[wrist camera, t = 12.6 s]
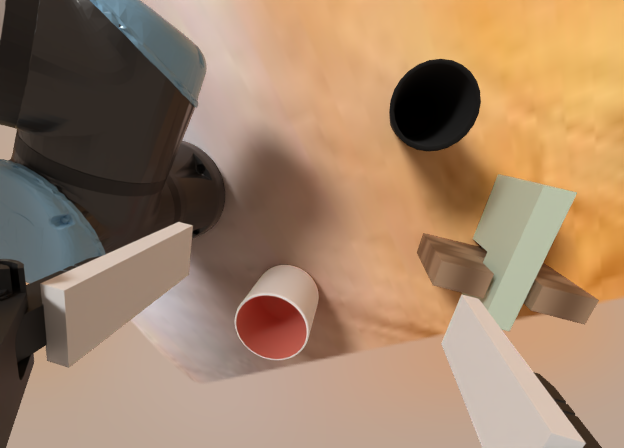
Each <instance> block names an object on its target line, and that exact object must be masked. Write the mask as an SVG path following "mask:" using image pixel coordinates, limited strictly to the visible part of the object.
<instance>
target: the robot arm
mask: <svg viewBox="0 0 624 448" xmlns="http://www.w3.org/2000/svg"><path fill="white" fill-rule="evenodd" d="M205 74H206V61H205V58H204V55H203V54H202V52H201V50H200V49H199V48H198V47H197V46H196V45H195V44H194V43H193V42H192V41H191V40H190V39H189V38H187V37H186V36H185V35H184V34H183V33H181V32H180V31H179V30H178V29H176V28H175V27H174V26H173V25H171V24H170V23H169V22H168V21H166V20H165V19H164V18H162V17H161V16H160V15H159V14H157V13H156V12H155V11H153V10H152V9H151V8H150V7H148V6H147V5H146V4H144V3H143V2H142V1H140V0H0V124H1V125H5V126H9V127H13V128H16V129H17V133H16V138H15V143H14V148H13V154H12V157H11V159H10V160H8V161H7V160H4V159H0V448H6V446H7V443H8V440H9V436H10V433H11V430H12V427H13V424H14V421H15V418H16V415H17V412H18V409H19V406H20V403H21V400H22V397H23V394H24V391H25V388H26V385H27V382H28V379H29V376H30V373H31V370H32V367H33V364H34V355H33V353H34V352H36V351H38V350H39V349H41V348H42V347H44V346H45V345H46V353H47V361H50V362H53V363H56V364H59V365H62V366H65V367H70V366H72V365H73V364H74V363H76V362H77V361H78V360H79V359H81V358H82V357H83V356H85V355H86V354H87V353H88V352H90V351H91V350H92V349H94V348H95V347H96V346H98V345H99V344H100V343H101V342H103V341H104V340H105V339H107V338H108V337H109V336H110V335H112V334H113V333H114V332H116V331H117V330H118V329H119V328H121V327H122V326H123V325H125V324H126V323H127V322H128V321H130V320H131V319H132V318H134V317H135V316H136V315H137V314H139V313H140V312H141V311H143V310H144V309H145V308H146V307H148V306H149V305H150V304H152V303H153V302H154V301H155V300H157V299H158V298H159V297H161V296H162V295H163V294H164V293H166V292H167V291H168V290H170V289H171V288H172V287H173V286H175V285H176V284H177V283H179V282H180V281H181V280H182V279H184V278H185V277H186V276H188V275H189V267H190V255H191V243H192V239H193V238H195V237H198V236H199V235H201V234H203V233H205V232H206V231H208V230H209V229H211V228H212V227H213V226H214V225H215V224H216V222H217V221H218V219H219V218H220V216H221V213H222V211H223V207H224V202H225V190H224V184H223V180H222V177H221V175H220V172H219V170H218V169H217V167H216V165H215V164H214V162H213V161H212V160H211V158H210V157H209V156H208V155H207V154H206V153H205V152H203V151H202V150H201V149H199V148H198V147H196V146H194V145H193V144H190V143H188V142H185V141H182V139H183V137H184V134H185V132H186V129H187V127H188V124H189V122H190V119H191V117H192V114H193V112H194V109H195V107H196V108H197V106H198V101H197V100H198V96H199V93H200V90H201V87H202V83H203V80H204V77H205ZM26 282H27V283H30V284H28V285H26ZM441 344H442V346H443V349H444V352H445V354H446V357H447V359H448V362H449V364H450V367H451V369H452V372H453V374H454V377H455V380H456V382H457V385H458V387H459V390H460V392H461V395H462V397H463V400H464V402H465V405H466V407H467V410H468V413H469V415H470V417H471V420H472V423H473V425H474V428H475V430H476V433H477V435H478V438H479V440H480V443H481V445H482V448H602V447H601V446H600V445H599V444H598V442H597V441H596V440H595V438H594V437H593V436H592V435H591V434H590V432H589V431H588V429H587V428H586V427H585V426H584V425H583V423H582V422H581V420H580V419H579V418H578V417H577V416H575V413H574V411H573V410H572V409H571V408H570V407H569V405H568V404H566V401H565V400H564V399H563V397H562V396H561V395H560V394H559V392H558V391H557V390H556V389H555V388H554V386H552V385H551V384H550V383H549V382H548V381H547V380H546V379H544V378H543V377H542V376H541V375H540V374H538V373H534V372H533V371H532V370H531V369H530V367H529V366H528V364H527V363H526V362H525V360H524V359H523V358H522V357H521V355H520V354H519V353H518V351H517V350H516V348H515V347H514V346H513V344H512V343H511V342H510V340H509V339H508V337H507V336H506V335H505V333H504V332H503V331H502V329H501V328H500V327H499V325H498V324H497V323H496V321H495V320H494V319H493V317H492V316H491V315H490V313H489V312H488V311H487V309H486V308H485V306H484V305H483V304H482V302H481V301H480V300H479V299H478V298H474V297H470V296H466V295H461V297H460V299H459V302H458V304H457V307H456V309H455V312H454V314H453V316H452V319H451V321H450V324H449V326H448V329H447V331H446V334H445V336H444V338H443V341H442V343H441Z"/></svg>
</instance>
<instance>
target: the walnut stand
mask: <svg viewBox="0 0 624 448" xmlns="http://www.w3.org/2000/svg"><path fill="white" fill-rule="evenodd" d="M417 254H418V256H419V258H420V260H421V262H422V264H423V266H424V268H425V270H426V272H427V274H428V276H429V278H430V280H431V282H432V284H433V285H434V286H438V287H442V288H446V289H450V290H454V291H458V292H461V293H465V294H469V295H473V296H477V297H481V298H484V296H485V294H486V291H487V289H488V287H489V284H490V282H491V280H492V278H493V275H494V273H493V272H492V271H491V270H490V269H489V268H488V267H487V266H486V265H485V264H484V263H483V261H484V259H485V256H486V254H487V251H486V250H485V249H484V248H482V247H478V246H474V245H470V244H466V243H462V242H457V241H453V240H449V239H445V238H441V237H437V236H433V235H429V234H424V233H423V236H422V239H421V242H420V245H419V248H418V251H417ZM598 301H599V300H598V299H596V298H595V297H593V296H592V295H590V294H589V293H587V292H586V291H584V290H583V289H581V288H580V287H578V286H577V285H575V284H574V283H573V282H571V281H570V280H568V279H567V278H565V277H564V276H562V275H561V274H559V273H558V272H556V271H555V270H553V269H552V268H550V267H549V266H547V265H546V264H544V263H543V264H542V266H541V268H540V270H539V272H538V274H537V276H536V278H535V280H534V282H533V284H532V286H531V288H530V290H529V293H528V295H527V297H526V299H525V301H524V304H525V305H526V306H527V307H528V308H529V309H530V310H531V311H535V312H539V313H543V314H546V315H550V316H554V317H558V318H562V319H566V320H570V321H573V322H577V323H581V324H585V323H586V322H587V320H588V318H589V316H590V315H591V313H592V311H593V309H594V308H595V306H596V304H597V303H598Z"/></svg>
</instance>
